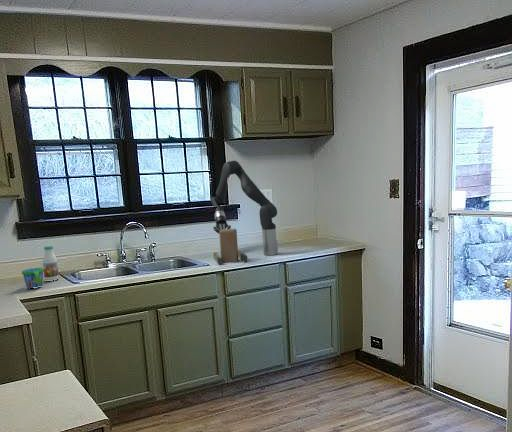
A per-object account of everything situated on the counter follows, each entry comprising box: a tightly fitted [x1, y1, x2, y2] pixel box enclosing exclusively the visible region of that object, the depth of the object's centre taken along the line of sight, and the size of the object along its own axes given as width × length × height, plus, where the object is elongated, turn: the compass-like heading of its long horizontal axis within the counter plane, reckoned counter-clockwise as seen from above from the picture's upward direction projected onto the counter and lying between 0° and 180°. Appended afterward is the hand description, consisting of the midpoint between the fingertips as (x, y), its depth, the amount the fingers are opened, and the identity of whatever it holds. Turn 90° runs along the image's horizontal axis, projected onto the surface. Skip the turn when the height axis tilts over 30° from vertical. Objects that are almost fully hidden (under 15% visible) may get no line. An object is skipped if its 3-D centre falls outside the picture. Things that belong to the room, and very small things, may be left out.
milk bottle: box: [42, 245, 60, 281], centre depth 267 cm, size 8×8×20 cm
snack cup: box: [21, 267, 44, 289], centre depth 250 cm, size 16×10×10 cm
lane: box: [213, 249, 248, 266], centre depth 298 cm, size 18×26×4 cm
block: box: [218, 228, 239, 263], centre depth 295 cm, size 10×10×20 cm
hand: (223, 237), depth 320 cm, fingers closed
